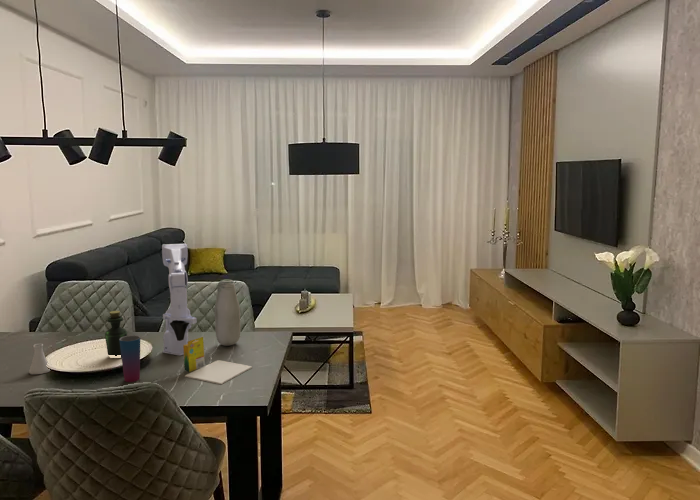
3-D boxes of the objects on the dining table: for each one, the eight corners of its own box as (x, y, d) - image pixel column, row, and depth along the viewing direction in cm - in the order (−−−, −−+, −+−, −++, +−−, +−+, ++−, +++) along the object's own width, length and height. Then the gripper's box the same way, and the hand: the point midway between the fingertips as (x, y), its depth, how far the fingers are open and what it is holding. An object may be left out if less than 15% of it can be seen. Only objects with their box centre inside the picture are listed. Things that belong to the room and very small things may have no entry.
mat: (185, 376, 194) (185, 375, 194) (217, 361, 210) (217, 359, 210) (221, 384, 187) (221, 383, 187) (252, 367, 203) (252, 366, 203)
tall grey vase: (228, 339, 237) (227, 276, 233) (245, 344, 231) (243, 279, 227) (211, 345, 229) (208, 280, 225) (227, 350, 223) (225, 283, 219)
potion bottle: (129, 352, 220) (126, 308, 218) (127, 358, 212) (125, 313, 210) (107, 354, 218) (104, 310, 215) (105, 360, 210) (102, 315, 207)
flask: (28, 376, 194) (25, 349, 192) (29, 369, 200) (27, 343, 199) (51, 373, 197) (49, 346, 196) (51, 366, 203) (49, 340, 202)
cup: (129, 384, 187) (127, 342, 185) (117, 380, 190) (115, 338, 188) (146, 378, 192) (144, 337, 190) (134, 374, 196) (132, 334, 194)
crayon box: (200, 365, 206) (199, 335, 204) (205, 366, 204) (204, 336, 203) (183, 370, 200) (182, 340, 198) (189, 372, 198) (188, 341, 197)
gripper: (156, 304, 201) (157, 340, 203) (186, 308, 195) (188, 345, 197) (170, 300, 207) (171, 335, 209) (200, 304, 201) (201, 340, 203)
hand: (180, 340), depth 203 cm, fingers closed
